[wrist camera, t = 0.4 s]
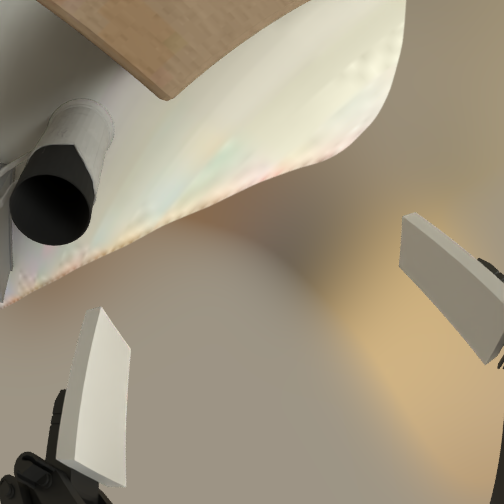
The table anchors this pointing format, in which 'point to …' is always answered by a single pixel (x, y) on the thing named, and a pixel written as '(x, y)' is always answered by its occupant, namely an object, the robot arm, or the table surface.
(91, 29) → the wooden block
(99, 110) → the glass holder
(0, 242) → the large grey square box
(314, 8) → the table surface
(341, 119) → the table surface
